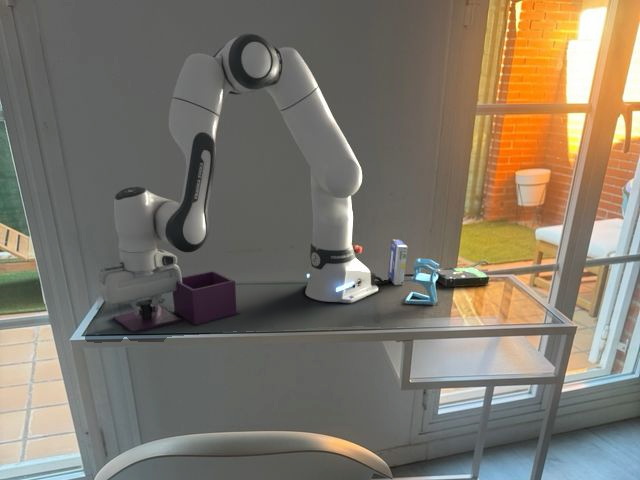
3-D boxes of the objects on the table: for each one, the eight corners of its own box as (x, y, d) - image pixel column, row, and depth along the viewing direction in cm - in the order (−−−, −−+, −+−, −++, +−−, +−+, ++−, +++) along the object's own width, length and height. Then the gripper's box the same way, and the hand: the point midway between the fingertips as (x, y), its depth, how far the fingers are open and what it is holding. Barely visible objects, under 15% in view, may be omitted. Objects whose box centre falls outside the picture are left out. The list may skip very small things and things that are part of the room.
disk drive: (445, 288, 181) (488, 284, 184) (446, 279, 179) (490, 276, 183) (431, 277, 189) (473, 274, 193) (432, 268, 188) (474, 266, 191)
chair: (433, 307, 166) (439, 265, 159) (404, 303, 168) (409, 261, 162) (438, 299, 172) (444, 258, 165) (410, 294, 174) (415, 254, 168)
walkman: (387, 276, 188) (391, 238, 181) (396, 276, 188) (400, 238, 182) (394, 285, 181) (398, 245, 175) (403, 284, 182) (407, 245, 175)
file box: (215, 302, 164) (213, 270, 159) (236, 313, 157) (235, 281, 152) (174, 312, 157) (171, 279, 152) (195, 324, 150) (192, 290, 145)
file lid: (160, 307, 159) (158, 291, 156) (180, 321, 152) (179, 304, 149) (113, 318, 151) (110, 301, 149) (132, 333, 144) (130, 315, 142)
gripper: (103, 270, 135) (112, 326, 143) (182, 255, 147) (187, 308, 154) (92, 263, 139) (101, 318, 147) (170, 249, 151) (175, 301, 158)
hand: (146, 313), depth 150 cm, fingers closed on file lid, 3 cm apart
